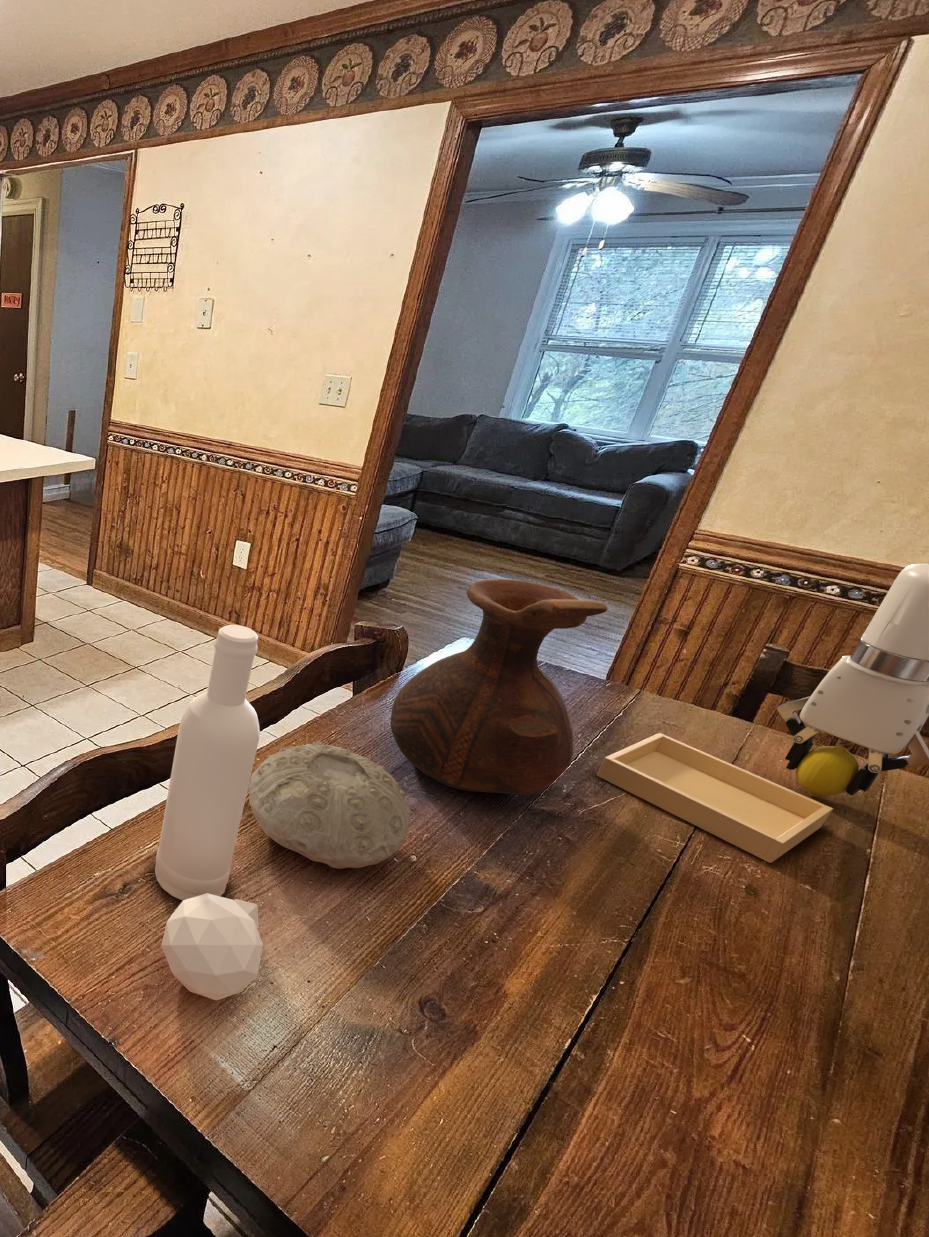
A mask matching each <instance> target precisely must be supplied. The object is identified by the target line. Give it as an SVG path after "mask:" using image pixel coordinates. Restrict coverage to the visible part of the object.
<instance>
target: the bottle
mask: <svg viewBox="0 0 929 1237" xmlns="http://www.w3.org/2000/svg"><path fill="white" fill-rule="evenodd" d="M258 640H259V636H258V634H257V633H256V631H255V630H253V629H252V628H250V627H248V626H244V625H240V624H227V625H224V626H222V627H220V628H219V629H218V632H217V637H216V638H215V640H214V642H213V643H214V644H213V645H214V654H213V658H212V663H211V670H210V675H209V680H208V685H207V686H208V687H207V691H205V692H203V693H201V694H199V695H197V696H196V697H194V698H192V699H191V701H190V702H189V703H188V705H187V707H186V708H185V710H184V712H183V714H182V715H181V718H180V721H179V726H178V731H177V737H176V743H175V748H174V755H173V759H172V760H173V761H172V767H171V771H170V779H169V784H168V790H167V796H166V801H165V802H166V803H165V808H164V813H163V814H164V815H163V821H162V826H161V832H160V837H159V844H158V847H157V851H156V855H155V867H154V874H155V879H156V881H157V883H158V884H159V886H160V887H161V888H162V889H163V890H164V891H165V892H166V893H168V894H169V895H170V896H172V897H174V898H176V899H178V900H181V901H183V900H186V899H190V898H193V897H196V896H200V895H203V894H206V893H209V894H212V895H216V896H220V897H222V895H223V894H224V893H226V888H227V884H228V882H229V879H230V875H231V870H232V865H233V862H232V861H233V857H234V852H235V848H236V843H237V839H238V835H239V830H240V825H241V822H242V817H243V813H244V809H245V808H244V807H245V803H246V800H247V794H248V787H249V784H250V779H251V776H252V774H253V773H252V772H253V769H254V763H255V760H256V755H257V751H258V747H259V746H258V745H259V742H260V738H261V737H260V736H261V730H260V722H259V718H258V714H257V712H256V710H255V708H254V706H252V704H251V703H250V702H249V701H248V700H247V698H246V696H247V692H248V687H249V682H250V678H251V672H252V668H253V663H254V660H255V659H254V658H255V656H256V655H257V652H258V648H259V646H258Z"/></svg>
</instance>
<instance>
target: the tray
mask: <svg viewBox="0 0 929 1237" xmlns="http://www.w3.org/2000/svg"><path fill="white" fill-rule="evenodd" d="M596 776H597V777H599V778H600V779H602V780H605V781H606V782H609V783H610V784H612V785H614V786H616V787H619V788H620V789H622V790H624V791H626V792H628V793H630V794H632V795H634V796H636V797H638V798H640V799H642V800H644V801H646V802H648V803H650V804H652V805H654V806H656V807H658V808H660V809H661V810H664V811H666V812H668V813H670V814H672V815H674V816H676V817H677V818H679V819H682V820H683V821H685V822H688V823H689V824H691V825H693V826H696V827H697V828H700V829H701V830H703V831H705V832H708V833H709V834H711V835H714V836H716V837H717V838H720V839H721V840H723V841H725V842H727V843H729V844H732V845H733V846H735V847H736V848H739V849H741V850H743V851H745V852H747V853H749V854H751V855H753V856H754V857H757V858H759V859H761V860H762V861H765V862H767V863H769V864H771V863H773V862H774V861H776V860H777V859H779V858H780V857H782V856H783V855H784V854H786V853H787V852H788V851H790V850H791V849H793V848H794V847H796V846H798V845H799V844H800V843H802V841H804V840H805V839H806V838H809V836H811V835H812V834H814V833H815V832H816V831H818V830H819V829H820V828H822V826H823V825H824V823H825V822H826V821H827V819H828V818H829V816H830V815H831V813H832V811H833V810H834V808H833V807H831V806H829V805H827V804H824V803H821V802H820V801H817V800H815V799H812V798H810V797H808V796H806V795H803V794H801V793H799V792H796V791H795V790H793V789H789V788H787V787H785V786H782V785H781V784H778V783H776V782H773V781H771V780H769V779H767V778H764V777H763V776H759V775H757V774H755V773H753V772H750V771H748V770H746V769H744V768H742V767H739V766H737V765H735V764H732V763H730V762H728V761H726V760H724V759H721V758H718V757H717V756H713V755H711V754H709V753H707V752H705V751H702V750H700V749H698V748H695V747H693V746H691V745H688V744H686V743H684V742H683V741H680V740H678V739H675V738H672V737H671V736H668V735H666V734H663V733H662V732H658V733H655V734H654V735H652V736H649V737H647V738H645V739H643V740H640V741H638V742H636V743H634V744H632V745H630V746H627V747H625V748H623V749H621V750H618V751H616V752H613V753H611V754H610V755H607V756H605V757H604V759H603V761H602V763H601V764H600V767H599V769H598V771H597V773H596Z"/></svg>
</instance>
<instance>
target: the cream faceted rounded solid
mask: <svg viewBox="0 0 929 1237" xmlns="http://www.w3.org/2000/svg"><path fill="white" fill-rule="evenodd" d="M259 923H260V922H259V905H258V904H256V903H253V902H250V901H246V900H242V899H238V898H235V899H231V898H228V897H224V896H216V895H212V894H209V893H206V894H203V895H200V896H196V897H193V898H190V899H186V900H181V902H180V903H179V905H178V906H177V907H176V909H175V910H174V911H173V913H172V914H171V915H170V917H169V918H168V919H167V921H166V924H165V928H164V932H163V936H162V941H161V945H160V946H161V949H162V952H163V953H164V956H165V959H166V962H167V964H168V967H169V970H170V971H171V974H172V976H173V977H175V979H177V980H178V982H180V983H181V984H182V985H183V987H184V988H186V990H188V992H191V993H193V994H196V995H199V996H202V997H205V998H208V999H210V1000H213V1001H219V1000H222V999H225V998H228V997H231V996H234V995H237V994H239V993H242V992H243V991H244V990H245V989H246V988H247V987H248V986H249V985H250V983H252V981H253V980H254V979H255V978H256V977H257V976H259V970H260V965H261V959H262V955H263V949H264V943H263V941H262V938H261V935H260V933H259V930H258V928H259V927H260V924H259Z"/></svg>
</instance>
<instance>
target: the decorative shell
mask: <svg viewBox="0 0 929 1237" xmlns="http://www.w3.org/2000/svg"><path fill="white" fill-rule="evenodd" d="M247 793H248V802H249V806H250V808H251V810H252V813H253V817H254V819H255V820H256V822H257V823H258V824H259V826H260V828H261V831H262V832H263V833H264V834H265V835H266V836H267V837H269V838H270V839H271V840H273V841H274V842H275V843H276V844H278V845H280V846H282V847H283V848H286V849H288V850H291V851H292V852H293V851H294V852H296V853H298V854H299V855H302V856H303V857H305V858H307V859H309V860H311V861H312V862H318V863H323V864H325V865H327V866H329V867H330V868H333V869H338V870H339V869H347V868H352V869H360V868H361V869H362V868H364V867H368V866H371V865H372V866H375V865H378V864H379V863H381V862H383V861H386V860H387V859H389V858H390V857H392V856H393V855H394V854H395V853H397V852H398V851H399V850H400V848H401V846H402V845H403V843H404V841H405V840H406V836H407V834H408V831H409V824H410V822H411V818H410V817H411V815H412V813H413V811H412V810H411V809H410V808H409V806H408V800H407V796H406V792H405V791H404V790H403V789H402V788H401V787H400V785H399V783H398V782H397V781H396V779H395V778H394V777H393V775H392V774H390V773H389V772H388V771H387V770H386V766H385V765H378V764H377V763H376V762H374V761H371V759H369V758H367V757H365V756H362V755H360V754H358V753H356V752H353V751H352V750H351V749H346V748H343V747H340V746H334V745H331V744H324V743H322V742H321V741H318V742H316V743H315V744H313V743H307V744H300V745H296V746H290V747H287V748H286V747H280V749H279V750H278V752H276V753H273V754H268V755H267V758H266V759H265V760H264V761H262V762H261V763H260V765H258V767H256V769H255V771H254V772H253V773H251V777H250V782H249V786H248V791H247Z"/></svg>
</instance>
